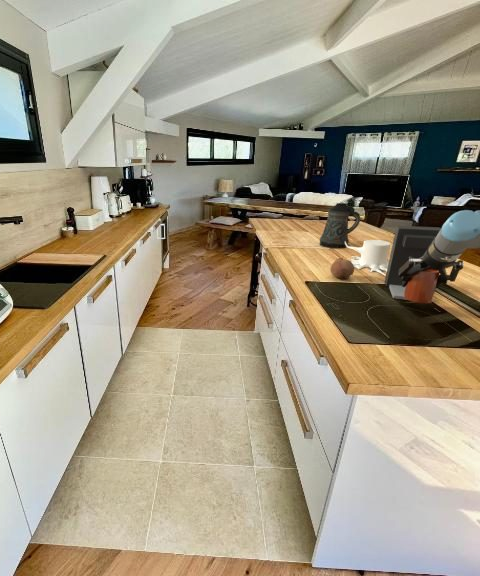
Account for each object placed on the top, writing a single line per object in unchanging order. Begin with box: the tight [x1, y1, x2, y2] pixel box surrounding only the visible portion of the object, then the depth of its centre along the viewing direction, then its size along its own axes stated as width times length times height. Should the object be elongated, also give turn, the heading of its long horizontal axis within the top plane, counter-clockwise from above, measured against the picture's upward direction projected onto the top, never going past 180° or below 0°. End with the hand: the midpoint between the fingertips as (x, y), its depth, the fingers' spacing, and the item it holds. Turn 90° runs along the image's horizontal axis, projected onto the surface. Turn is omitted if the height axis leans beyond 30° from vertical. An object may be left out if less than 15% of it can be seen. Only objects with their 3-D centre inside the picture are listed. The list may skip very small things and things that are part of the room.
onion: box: [329, 257, 355, 281], centre depth 137 cm, size 10×9×10 cm
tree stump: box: [345, 239, 392, 277], centre depth 153 cm, size 28×28×11 cm
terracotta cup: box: [404, 270, 440, 304], centre depth 106 cm, size 8×8×11 cm
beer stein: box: [319, 202, 361, 249], centre depth 187 cm, size 16×19×25 cm
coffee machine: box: [384, 225, 442, 304], centre depth 118 cm, size 14×18×24 cm
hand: (418, 285), depth 110 cm, fingers closed on terracotta cup, 8 cm apart
